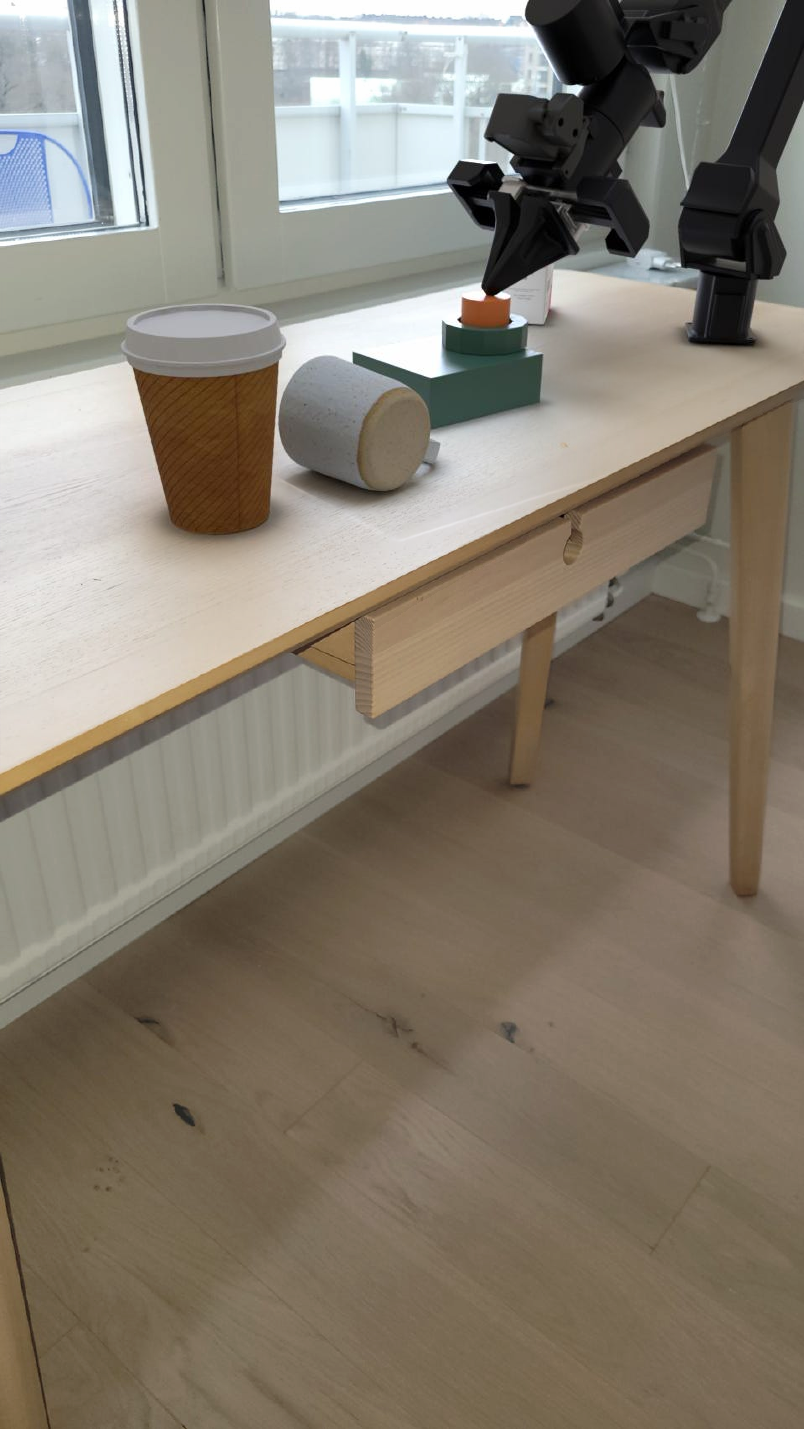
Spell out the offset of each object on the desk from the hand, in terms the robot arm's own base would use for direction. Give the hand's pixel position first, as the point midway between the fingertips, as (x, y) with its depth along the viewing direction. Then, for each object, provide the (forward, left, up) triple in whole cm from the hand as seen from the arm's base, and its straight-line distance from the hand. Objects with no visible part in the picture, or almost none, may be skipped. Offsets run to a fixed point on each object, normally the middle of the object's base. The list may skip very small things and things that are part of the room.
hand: (486, 292), depth 87 cm
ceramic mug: (+21, -6, -8) cm, 23 cm away
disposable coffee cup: (+30, -14, -8) cm, 34 cm away
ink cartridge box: (-30, +2, -8) cm, 31 cm away
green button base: (+3, -3, -8) cm, 9 cm away
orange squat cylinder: (0, 0, -3) cm, 3 cm away
